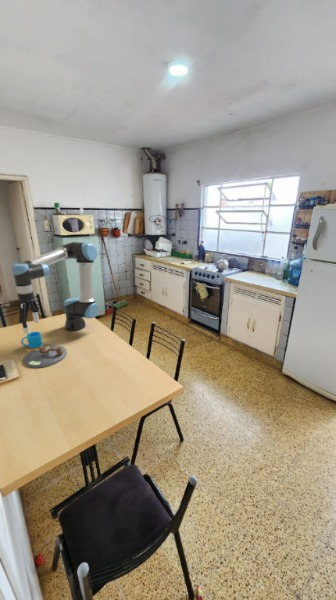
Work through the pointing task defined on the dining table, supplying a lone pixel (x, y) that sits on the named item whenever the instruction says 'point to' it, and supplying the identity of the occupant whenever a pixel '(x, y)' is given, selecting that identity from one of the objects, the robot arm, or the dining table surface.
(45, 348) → the dial arm
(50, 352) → the dial plate
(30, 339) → the mug
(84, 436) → the dining table surface
